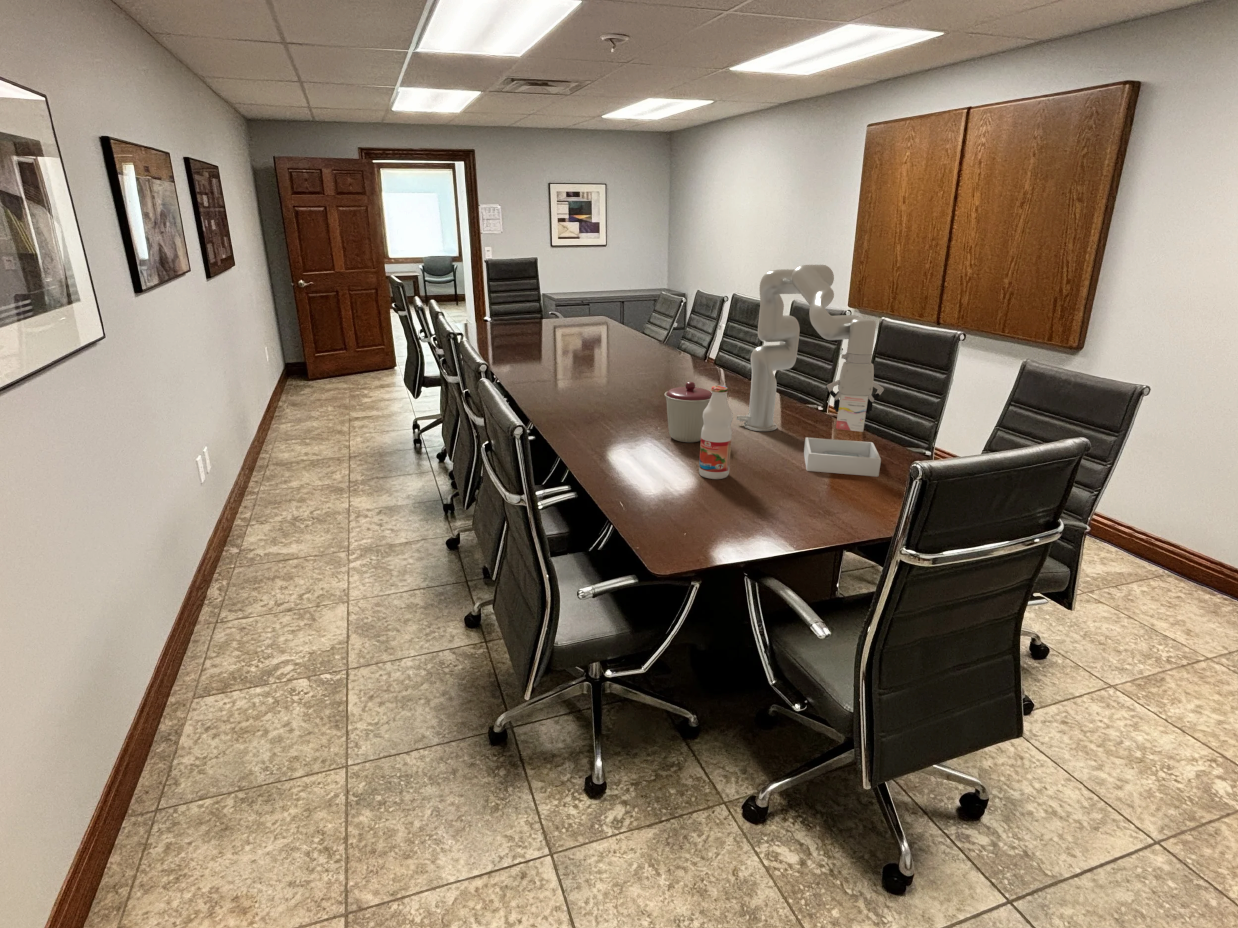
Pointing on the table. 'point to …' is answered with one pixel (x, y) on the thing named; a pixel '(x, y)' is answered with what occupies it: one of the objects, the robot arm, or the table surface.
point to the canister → (686, 411)
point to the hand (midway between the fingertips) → (852, 412)
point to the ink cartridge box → (852, 412)
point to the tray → (841, 457)
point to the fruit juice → (716, 436)
